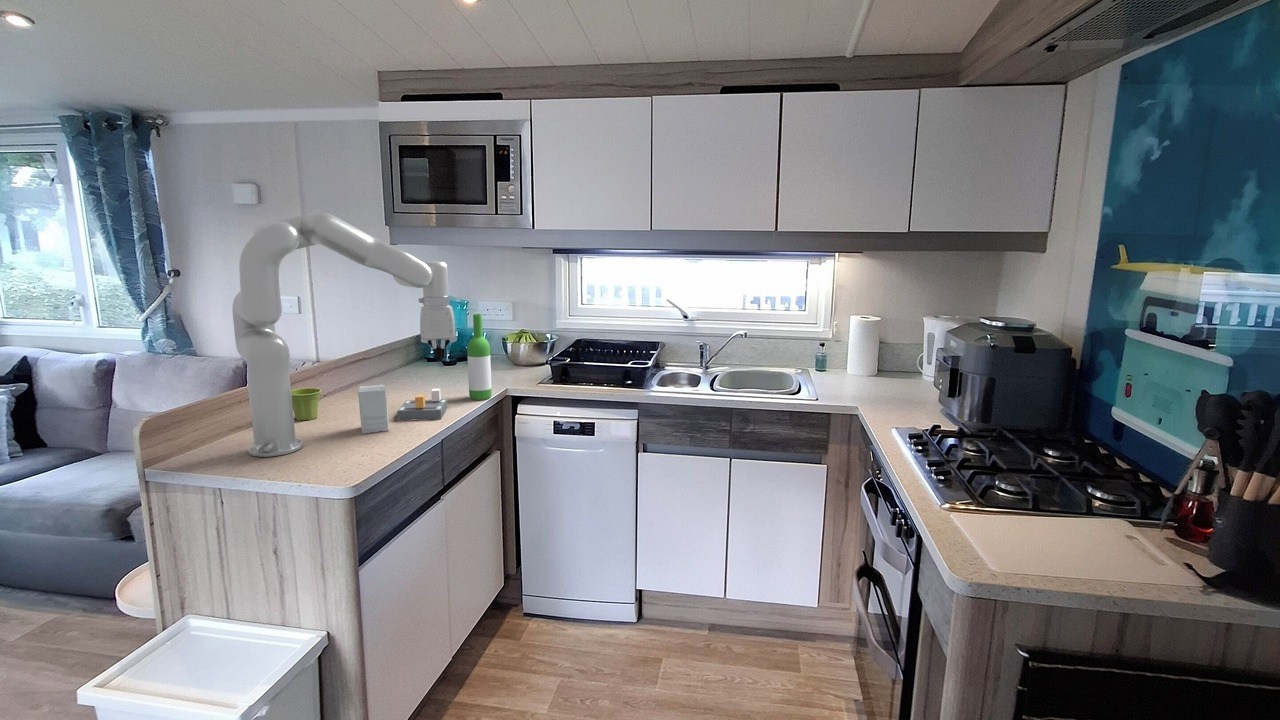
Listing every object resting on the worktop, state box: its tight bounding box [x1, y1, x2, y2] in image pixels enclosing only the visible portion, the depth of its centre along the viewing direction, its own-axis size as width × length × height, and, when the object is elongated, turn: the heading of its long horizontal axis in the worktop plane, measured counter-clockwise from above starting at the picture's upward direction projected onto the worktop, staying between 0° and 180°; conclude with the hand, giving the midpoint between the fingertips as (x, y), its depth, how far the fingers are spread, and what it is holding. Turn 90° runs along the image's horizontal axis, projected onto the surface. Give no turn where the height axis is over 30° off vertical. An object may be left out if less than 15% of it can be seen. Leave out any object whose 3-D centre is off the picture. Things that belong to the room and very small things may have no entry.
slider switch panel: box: [396, 398, 449, 421], centre depth 200 cm, size 13×13×3 cm
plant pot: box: [291, 387, 322, 421], centre depth 193 cm, size 9×9×9 cm
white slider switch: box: [431, 388, 442, 401], centre depth 204 cm, size 3×2×4 cm
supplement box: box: [357, 384, 389, 434], centre depth 183 cm, size 7×7×13 cm
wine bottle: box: [466, 313, 492, 401], centre depth 218 cm, size 8×8×30 cm
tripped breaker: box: [414, 394, 426, 408], centre depth 195 cm, size 3×2×4 cm
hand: (440, 360), depth 194 cm, fingers closed
